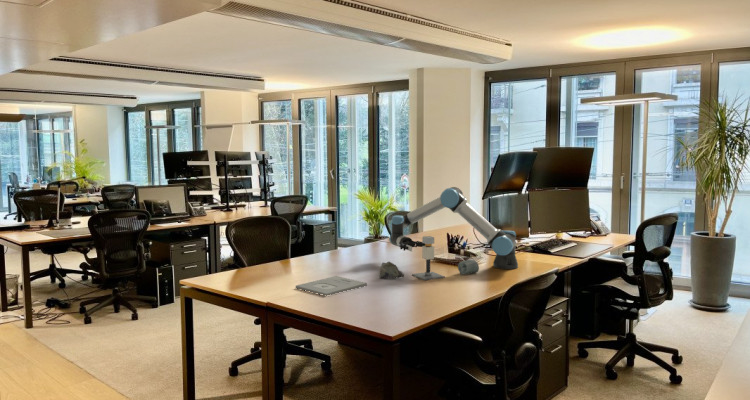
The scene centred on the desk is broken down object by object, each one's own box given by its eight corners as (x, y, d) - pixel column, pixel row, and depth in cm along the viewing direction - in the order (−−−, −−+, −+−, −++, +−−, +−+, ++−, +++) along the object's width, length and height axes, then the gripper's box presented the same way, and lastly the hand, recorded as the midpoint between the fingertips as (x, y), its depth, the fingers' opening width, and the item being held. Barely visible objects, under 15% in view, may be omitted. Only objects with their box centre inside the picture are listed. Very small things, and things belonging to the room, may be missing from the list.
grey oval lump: (464, 271, 329) (463, 255, 333) (455, 276, 337) (453, 260, 341) (483, 274, 335) (481, 258, 340) (473, 279, 343) (471, 263, 347)
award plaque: (366, 286, 311) (366, 282, 311) (326, 297, 289) (326, 293, 289) (336, 279, 327) (336, 275, 327) (295, 289, 306) (295, 285, 305)
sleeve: (422, 258, 332) (422, 246, 331) (429, 257, 334) (429, 245, 333) (426, 259, 327) (426, 247, 327) (434, 258, 329) (434, 246, 329)
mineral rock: (405, 279, 325) (405, 262, 324) (390, 282, 318) (390, 264, 317) (391, 275, 335) (391, 258, 334) (376, 278, 329) (376, 261, 328)
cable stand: (411, 275, 335) (412, 236, 333) (432, 272, 341) (432, 234, 338) (423, 280, 322) (423, 239, 320) (444, 277, 328) (445, 237, 326)
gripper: (422, 246, 362) (439, 252, 342) (387, 250, 351) (403, 256, 332) (422, 235, 361) (439, 240, 342) (387, 238, 350) (403, 243, 331)
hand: (421, 248), depth 337 cm, fingers open, 13 cm apart
